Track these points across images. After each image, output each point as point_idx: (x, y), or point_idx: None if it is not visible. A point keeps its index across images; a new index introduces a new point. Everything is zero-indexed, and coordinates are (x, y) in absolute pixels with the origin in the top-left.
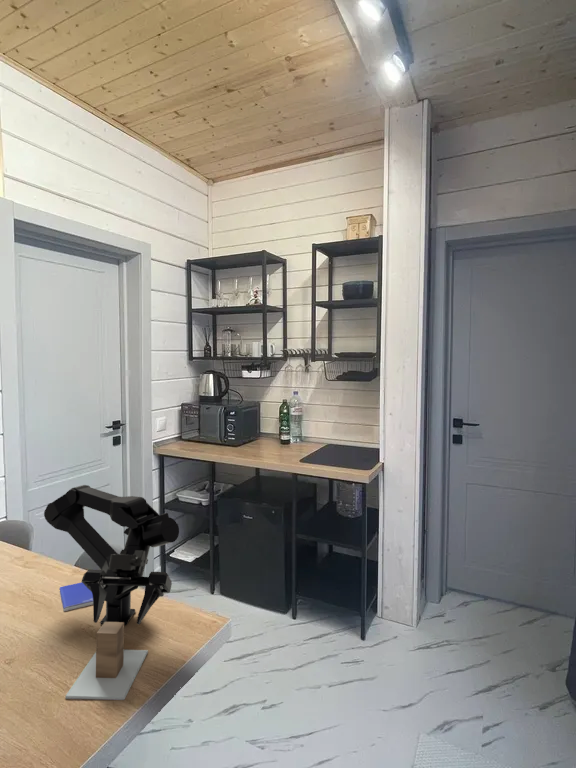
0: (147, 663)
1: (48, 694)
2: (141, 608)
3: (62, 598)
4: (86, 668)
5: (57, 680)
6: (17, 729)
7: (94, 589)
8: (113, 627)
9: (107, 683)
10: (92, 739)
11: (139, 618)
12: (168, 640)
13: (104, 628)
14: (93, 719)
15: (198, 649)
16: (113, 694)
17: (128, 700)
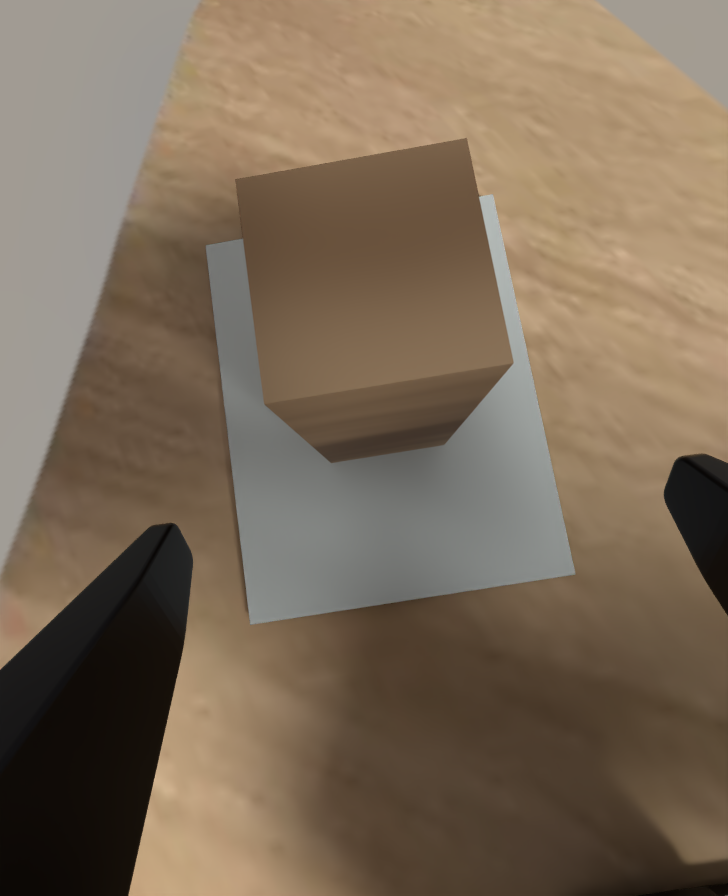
0: (213, 523)
1: (591, 210)
2: (64, 652)
3: None
4: (523, 392)
5: (622, 301)
6: (566, 23)
7: None
8: (334, 274)
9: None
10: (234, 49)
11: (126, 549)
12: (174, 773)
13: (429, 235)
14: (287, 130)
15: None
16: None
17: (189, 255)
